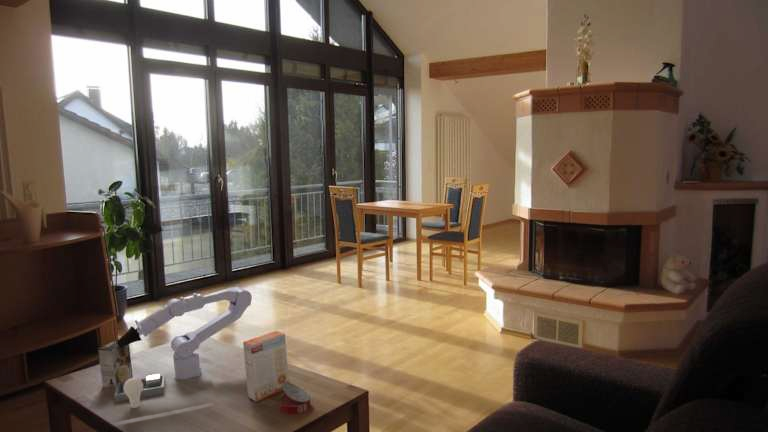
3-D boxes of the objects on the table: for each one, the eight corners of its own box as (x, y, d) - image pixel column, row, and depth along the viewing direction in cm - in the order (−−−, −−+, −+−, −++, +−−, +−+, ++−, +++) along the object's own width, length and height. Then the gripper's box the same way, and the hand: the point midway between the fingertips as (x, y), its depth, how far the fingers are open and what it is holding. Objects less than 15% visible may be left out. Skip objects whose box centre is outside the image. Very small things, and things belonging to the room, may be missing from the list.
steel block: (161, 384, 195) (160, 373, 194) (160, 390, 191) (159, 378, 190) (148, 387, 193) (146, 375, 193) (147, 392, 189) (146, 380, 188)
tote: (165, 383, 198) (164, 374, 198) (164, 395, 188) (163, 386, 188) (119, 391, 193) (118, 382, 192) (115, 405, 183) (114, 395, 182)
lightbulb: (126, 415, 176) (122, 384, 174) (125, 407, 181) (122, 377, 179) (146, 410, 178) (142, 379, 177) (144, 402, 184) (141, 373, 182)
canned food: (294, 412, 182) (300, 383, 185) (313, 418, 176) (320, 387, 179) (268, 410, 174) (276, 379, 177) (288, 415, 168) (295, 383, 171)
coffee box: (119, 378, 204) (114, 339, 202) (133, 379, 203) (129, 339, 201) (102, 389, 195) (97, 348, 193) (117, 390, 194) (112, 349, 192)
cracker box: (280, 383, 194) (276, 329, 191) (289, 388, 190) (286, 333, 187) (246, 397, 185) (242, 340, 182) (255, 403, 180) (251, 345, 177)
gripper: (146, 312, 200) (111, 334, 193) (148, 313, 187) (112, 336, 181) (156, 327, 201) (122, 350, 194) (160, 329, 188) (123, 353, 182)
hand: (118, 344), depth 188 cm, fingers open, 7 cm apart
